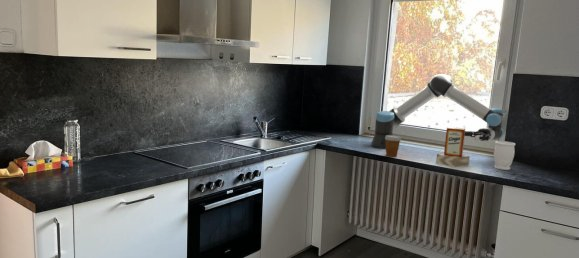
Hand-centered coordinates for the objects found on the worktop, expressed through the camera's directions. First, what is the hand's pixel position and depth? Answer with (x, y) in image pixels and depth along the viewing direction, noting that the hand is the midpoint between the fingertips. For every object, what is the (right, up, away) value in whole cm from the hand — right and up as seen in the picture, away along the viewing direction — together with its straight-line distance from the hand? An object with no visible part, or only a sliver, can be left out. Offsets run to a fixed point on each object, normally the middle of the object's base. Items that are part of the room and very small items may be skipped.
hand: (464, 136), depth 263 cm
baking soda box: (-8, -11, -4) cm, 14 cm away
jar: (+18, -18, -9) cm, 27 cm away
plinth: (-9, -16, -3) cm, 18 cm away
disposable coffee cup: (-41, -12, +10) cm, 44 cm away
